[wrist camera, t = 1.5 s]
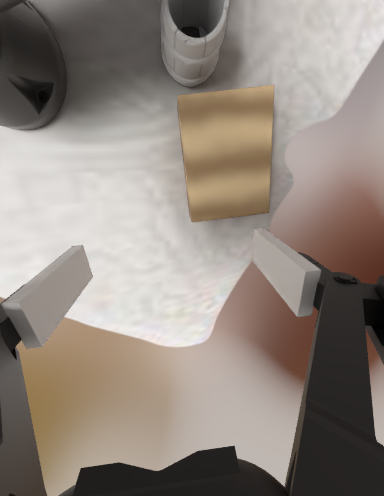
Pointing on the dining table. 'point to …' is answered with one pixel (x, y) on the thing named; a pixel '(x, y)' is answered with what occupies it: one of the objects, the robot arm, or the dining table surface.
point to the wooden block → (227, 151)
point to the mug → (188, 48)
